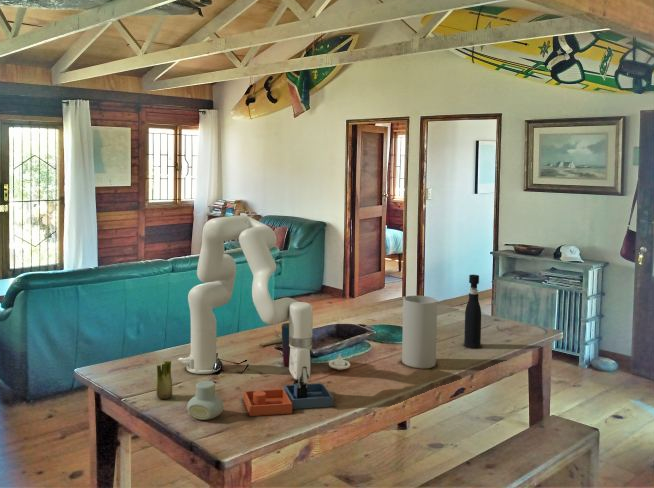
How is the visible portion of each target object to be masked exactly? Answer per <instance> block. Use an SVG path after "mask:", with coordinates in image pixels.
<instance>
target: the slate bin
mask: <svg viewBox="0 0 654 488" xmlns="http://www.w3.org/2000/svg"><path fill="white" fill-rule="evenodd" d="M283 389H284V390H285V392H286V394H287V395H288V397H289V399H290V401H291V402H292V410H300V409H312V408H314V409H315V408H329V407H334V396H333V395H332V393H331V392H330V391H329V389H328V388H327V387H326V385H325V384H324V383H323V382H315V383H308V384H307V393H314V392H322V396H313V397H307V398H301V399H295V398H294V393H293V389H294V384H284V385H283Z"/></svg>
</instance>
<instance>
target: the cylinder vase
mask: <svg viewBox="0 0 654 488" xmlns="http://www.w3.org/2000/svg"><path fill="white" fill-rule="evenodd" d="M437 322H438V299H437V298H435V297H430V296H427V295H406V296H404V297H403V298H402V336H401V337H402V339H401V340H402V341H401V342H402V343H401V362H402V364H404V365H405V366H407V367H410V368H413V369H420V370H425V369H426V370H427V369H431V368H434V367H435V366H436V364H437V363H436V362H437V328H438V325H437V324H438V323H437Z"/></svg>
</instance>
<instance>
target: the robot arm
mask: <svg viewBox="0 0 654 488" xmlns="http://www.w3.org/2000/svg"><path fill="white" fill-rule="evenodd" d="M237 240H238V243H239V245H240V248H241V250H242V253H243V255H244V257H245V259H246V262H247V264H248V267H249V269H250V271H251V273H252V276H253V277H252V283H251V284H252V285H251V297H252V302H253V305H254V307H255V309H256V312H257V314H258V316H259V317H260V320H261V321H262V322H263V323H264V324H266V325H268V326H275V325H279V324H283V323H287V322H288V323H289V346H290V360H289V366H288V371H289V373H290V374H291V376H292V377H293V385H294V384H296V383H298V388H297V399H301V398H307V384H309V382H308V380H310V378H311V348H312V347H313V327H314V326H313V325H314V324H313V322H314V321H313V319H314V318H313V317H314V316H313V313H314V312H313V311H314V310H313V306H312V304H311V303H309V302H305V301H299V300H296V299H294V298H291V297H282V298H278V299H274V300H273V299H272V297H271V294H270V291H269V280H270V278H271V276H272V274H273V273H274V272H276V269H277V264H276V261H275V259H274V257H273V255H272V252H271V251H270V250H271V249H273V248H274V247H275V246H276V244H277V235H276V233H275V231H274V229H273V228H272V227H270V226H269V225H267V224H265V223H263V222H260V221H259V220H257V219H255V218H253V217H251V216H248V215H242V214H241V215H230V216H220V217H214V218H211V219H209V220H207V222H206V223H204V225H203V228H202V233H201V247H200V252H199V256H198V262H197V268H196V276H197V279H198V280H199V281H200V282H202V283H201V284H200V283H199V284H196V285H194V286H193V287H192V288H191V289H190V290H189V291H188V295H187V302H188V307H189V314H190V354H189V356H186V357H185V358H184V357H179V358H177V364H181V365H182V366H186V371H187V372H189V373H192V374H196V375H210V374H214V373H217V372H218V371H220V370H221V367H220V368H219V369H217V370H214V369H213V365H214V364H215V362H217V318H216V315H215V313H214V312H213V309H215V308H218V307H219V308H220V307H222V306H225V305H227V304H228V303H229V302H230V300H231V298H232V295H233V291H234V287H235V281H236V275H237V264H236V263H237V262H236V261H235V259H234V257H233V256H231V255H230V254H227V253H225V249H226V248H225V243H224V242H227V241H228V242H229V241H237ZM293 393H294V389H293Z"/></svg>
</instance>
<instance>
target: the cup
mask: <svg viewBox="0 0 654 488" xmlns="http://www.w3.org/2000/svg"><path fill="white" fill-rule="evenodd" d="M281 333H282V342H281V343H282V362H283V366H286V367H289V360H290V346H289V322H283V323H281Z"/></svg>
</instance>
